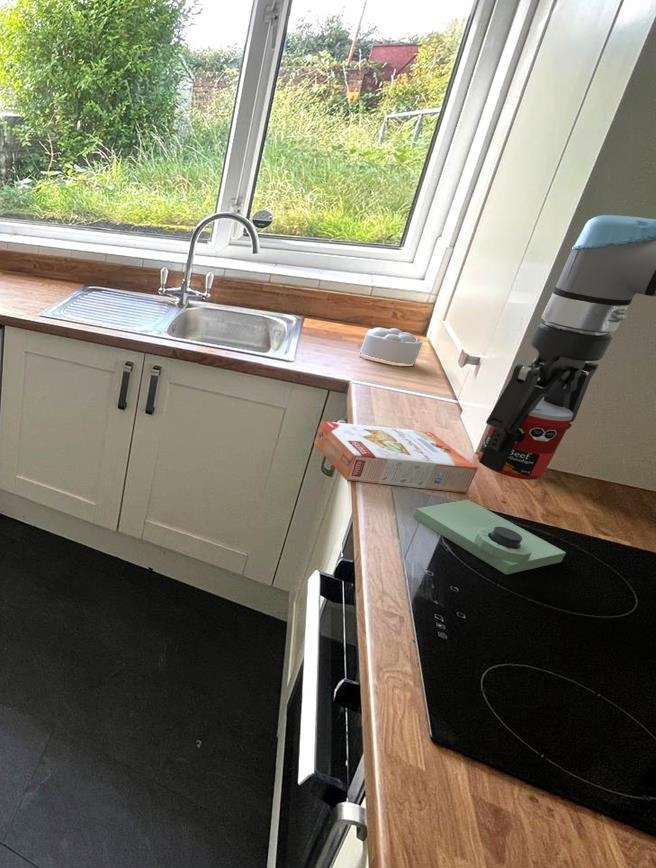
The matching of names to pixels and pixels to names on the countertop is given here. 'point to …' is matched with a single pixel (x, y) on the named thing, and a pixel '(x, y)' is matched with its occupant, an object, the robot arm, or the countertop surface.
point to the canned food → (534, 441)
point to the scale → (487, 536)
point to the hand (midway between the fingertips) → (510, 463)
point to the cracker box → (394, 457)
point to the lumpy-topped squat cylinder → (391, 345)
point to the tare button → (506, 537)
